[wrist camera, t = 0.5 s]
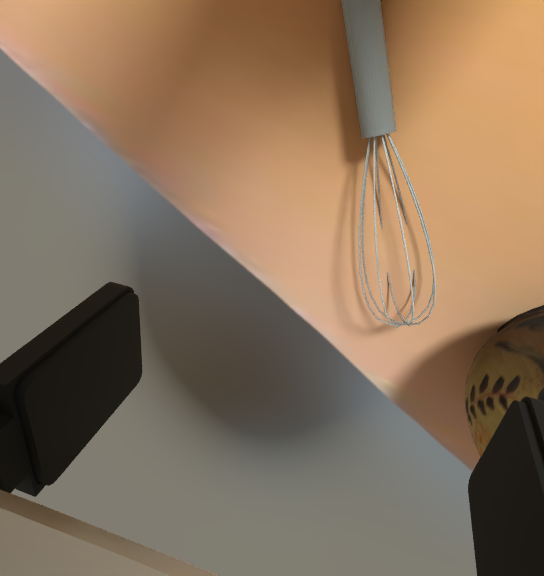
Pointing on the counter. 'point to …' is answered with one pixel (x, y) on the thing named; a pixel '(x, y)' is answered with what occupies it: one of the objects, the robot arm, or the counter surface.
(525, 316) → the ceramic jug
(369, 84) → the kitchen whisk
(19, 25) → the counter surface
